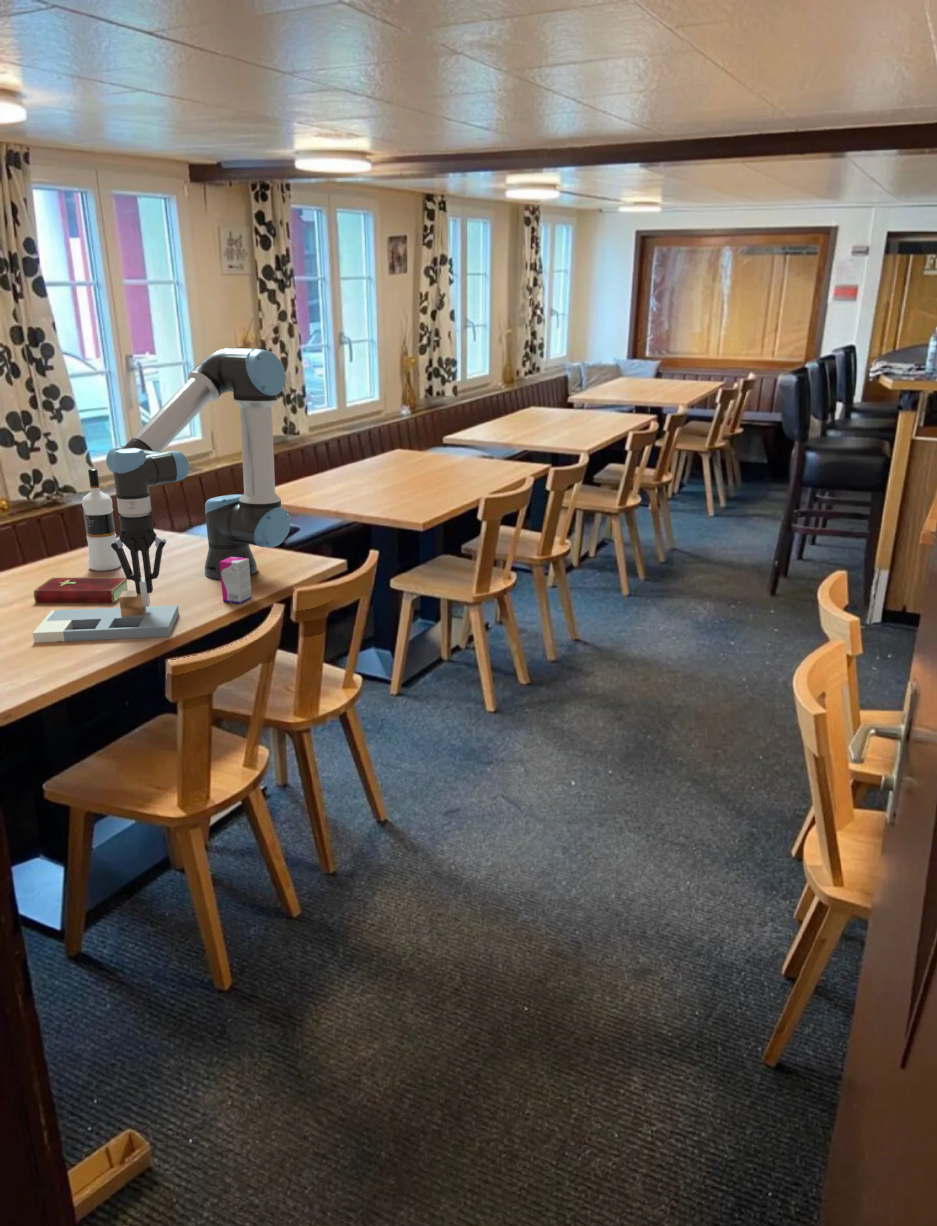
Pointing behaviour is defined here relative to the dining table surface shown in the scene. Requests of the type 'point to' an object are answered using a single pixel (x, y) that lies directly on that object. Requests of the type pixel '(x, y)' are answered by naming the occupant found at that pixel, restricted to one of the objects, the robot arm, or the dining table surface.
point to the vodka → (99, 527)
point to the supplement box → (235, 580)
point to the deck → (105, 624)
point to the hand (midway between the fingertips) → (146, 605)
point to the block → (131, 603)
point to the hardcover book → (80, 590)
